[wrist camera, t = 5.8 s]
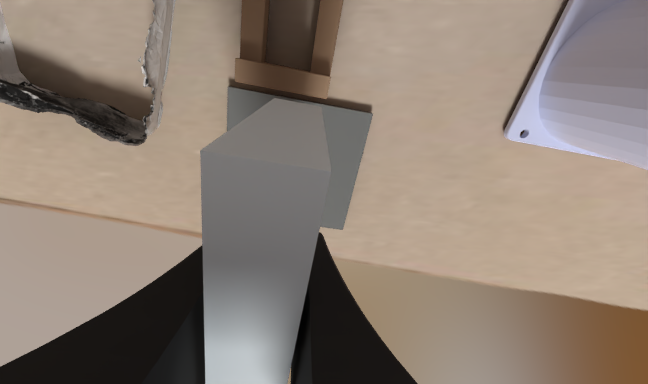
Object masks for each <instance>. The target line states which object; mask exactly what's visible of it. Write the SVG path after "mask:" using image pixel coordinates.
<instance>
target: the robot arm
mask: <svg viewBox="0 0 648 384" xmlns="http://www.w3.org/2000/svg"><path fill="white" fill-rule="evenodd" d="M523 130H524V133H523V134H522V135H521V136H520V133H521V131H523ZM504 136H505V138H507V139H509V140H512V141H517V142H522V143H528V144H533V145H538V146H544V147H549V148H554V149H560V150H565V151H570V152H576V153H581V154H586V155H592V156H597V157H602V158H608V159H613V160H618V161H621V162H624V163H627V164H630V165H633V166H636V167H639V168H642V169H646V170H648V0H569V1H568V3H567V5H566V7H565V9H564V11H563V13H562V15H561V17H560V19H559V21H558V23H557V25H556V27H555V29H554V31H553V33H552V35H551V37H550V40H549V42H548V44H547V46H546V48H545V50H544V52H543V54H542V56H541V58H540V60H539V62H538V64H537V66H536V68H535V70H534V72H533V74H532V76H531V78H530V80H529V82H528V84H527V86H526V88H525V90H524V92H523V94H522V96H521V98H520V100H519V102H518V104H517V106H516V108H515V110H514V112H513V114H512V116H511V118H510V120H509V122H508V124H507V126H506V128H505V131H504ZM0 384H205V339H204V293H203V247H202V246H201V247H199V248H198V249H197V250H195V251H194V252H193V253H192V254H190V255H189V256H188V257H186V258H185V259H184V260H183V261H181V262H180V263H179V264H177V265H176V266H174V267H173V268H171V269H170V270H169V271H167V272H166V273H165V274H163V275H162V276H160V277H159V278H157V279H156V280H155V281H153V282H152V283H150V284H149V285H147V286H146V287H144V288H143V289H141V290H139V291H138V292H136V293H135V294H133V295H132V296H130V297H128V298H127V299H125V300H124V301H122V302H120V303H119V304H117V305H115V306H114V307H112V308H110V309H109V310H107V311H105V312H103V313H102V314H100V315H99V316H97V317H95V318H93V319H91V320H89V321H87V322H85V323H84V324H82V325H80V326H78V327H76V328H74V329H73V330H71V331H69V332H67V333H65V334H63V335H62V336H60V337H58V338H56V339H54V340H52V341H50V342H49V343H47V344H45V345H43V346H41V347H39V348H37V349H35V350H33V351H31V352H29V353H27V354H25V355H23V356H21V357H19V358H17V359H15V360H13V361H11V362H9V363H7V364H5V365H3V366H1V367H0ZM291 384H417V382H416V381H415V380H414V379H413V378H412V376H411V375H410V374H409V373H408V372H407V371H406V369H405V368H404V367H403V366H402V365H401V364H400V362H399V361H398V360H397V359H396V358H395V356H394V355H393V354H392V352H391V351H390V350H389V349H388V347H387V346H386V345H385V343H384V342H383V341H382V340H381V338H380V337H379V335H378V334H377V332H376V331H375V330H374V328H373V327H372V325H371V324H370V323H369V321H368V320H367V318H366V317H365V315H364V314H363V312H362V311H361V309H360V308H359V306H358V305H357V303H356V301H355V299H354V298H353V296H352V295H351V293H350V291H349V289H348V288H347V286H346V284H345V282H344V280H343V278H342V277H341V275H340V273H339V271H338V269H337V267H336V265H335V263H334V261H333V259H332V256H331V254H330V252H329V250H328V247H327V245H326V242H325V240H324V237H323V235H322V234H321V233H319V234H318V238H317V243H316V248H315V253H314V258H313V262H312V267H311V272H310V277H309V282H308V286H307V291H306V296H305V301H304V306H303V310H302V315H301V320H300V325H299V330H298V334H297V339H296V344H295V349H294V354H293V358H292V363H291Z"/></svg>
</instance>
